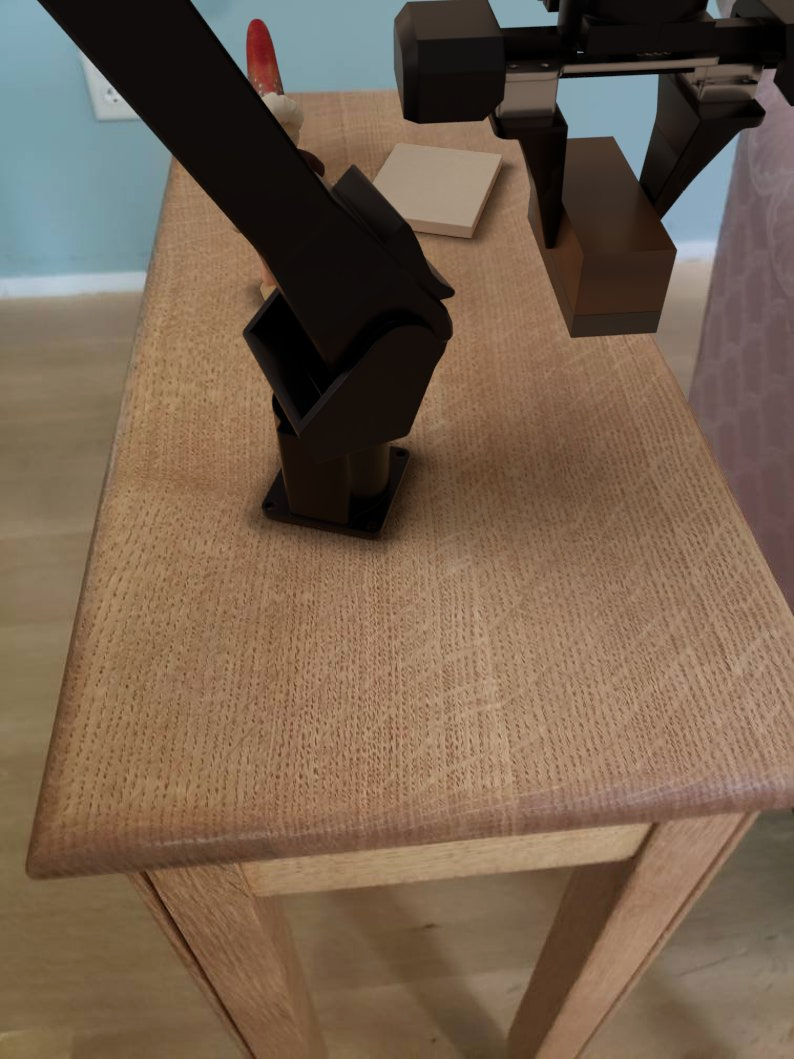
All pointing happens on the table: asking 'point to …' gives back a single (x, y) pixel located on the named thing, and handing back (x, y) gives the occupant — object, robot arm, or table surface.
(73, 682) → the table surface
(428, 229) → the tile
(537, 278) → the table surface
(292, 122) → the grandmother figurine
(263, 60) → the red tapered piece
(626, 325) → the tall brown wooden block
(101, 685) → the table surface
